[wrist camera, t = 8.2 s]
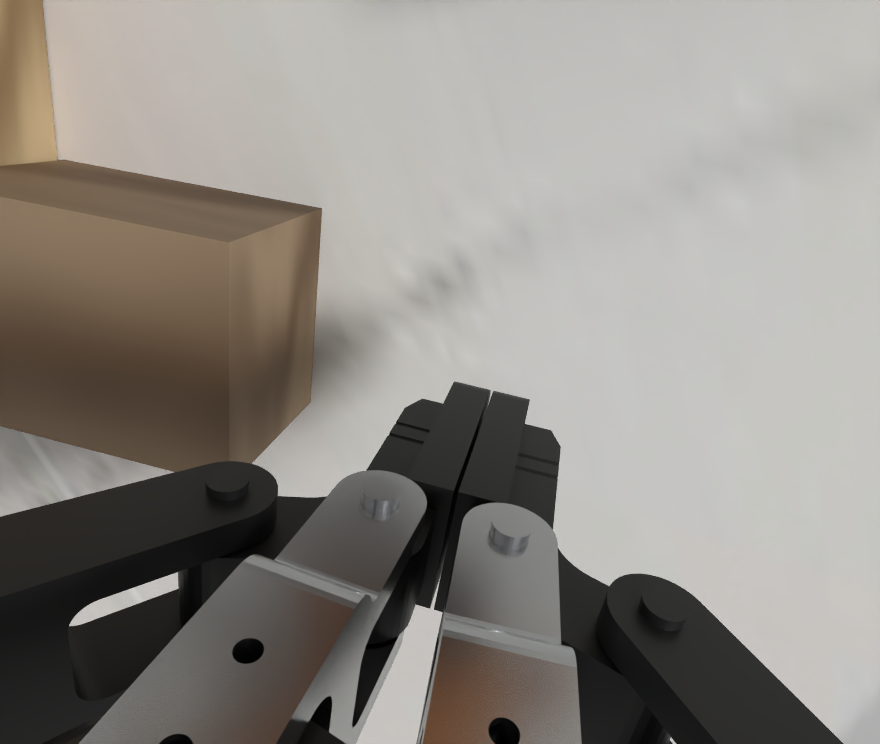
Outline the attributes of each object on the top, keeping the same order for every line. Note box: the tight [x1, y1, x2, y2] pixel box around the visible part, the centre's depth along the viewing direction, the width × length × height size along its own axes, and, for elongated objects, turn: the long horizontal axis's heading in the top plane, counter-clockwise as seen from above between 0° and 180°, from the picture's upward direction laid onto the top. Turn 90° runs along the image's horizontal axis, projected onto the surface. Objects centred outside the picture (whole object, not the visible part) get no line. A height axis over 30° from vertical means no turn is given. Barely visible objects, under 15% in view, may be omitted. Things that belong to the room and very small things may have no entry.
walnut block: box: [0, 160, 322, 472], centre depth 17 cm, size 6×8×5 cm
